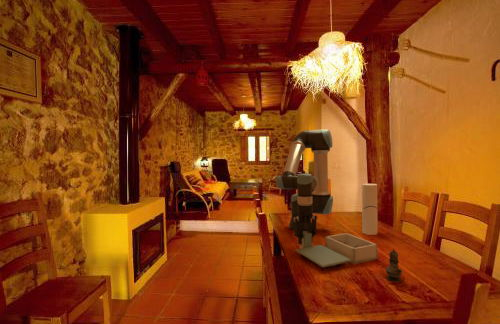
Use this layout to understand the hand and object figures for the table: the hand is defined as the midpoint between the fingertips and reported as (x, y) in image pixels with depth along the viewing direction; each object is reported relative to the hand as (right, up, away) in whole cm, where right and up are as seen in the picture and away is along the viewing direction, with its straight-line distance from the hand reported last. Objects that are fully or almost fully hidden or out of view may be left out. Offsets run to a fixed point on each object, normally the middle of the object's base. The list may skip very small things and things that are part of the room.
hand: (305, 249), depth 138 cm
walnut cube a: (+16, +1, -2) cm, 17 cm away
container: (+45, +1, +29) cm, 54 cm away
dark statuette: (+28, -2, -32) cm, 42 cm away
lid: (+4, 0, -10) cm, 11 cm away
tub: (+21, -1, -5) cm, 21 cm away
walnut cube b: (+25, +1, -9) cm, 26 cm away
